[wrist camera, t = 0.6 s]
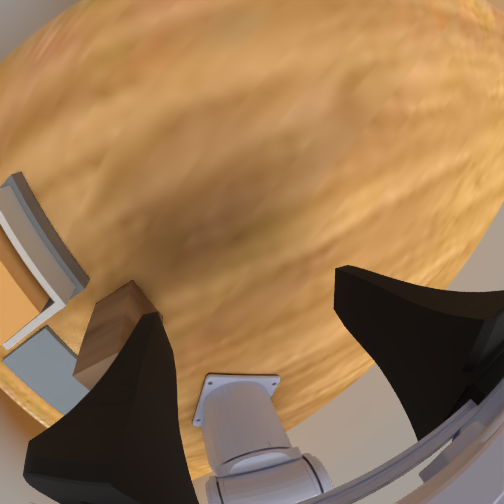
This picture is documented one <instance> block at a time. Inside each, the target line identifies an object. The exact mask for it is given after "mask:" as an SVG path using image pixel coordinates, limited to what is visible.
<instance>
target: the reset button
mask: <svg viewBox="0 0 504 504" xmlns="http://www.w3.org/2000/svg"><path fill="white" fill-rule="evenodd" d="M49 298H50V296H49V295H48V293H47V292H46V291H45V290H44V288H43V287H42V286H41V284H40V283H39V282H38V280H37V279H36V278H35V276H34V275H33V274H32V272H31V271H30V269H29V268H28V267H27V265H26V264H25V262H24V261H23V259H22V258H21V256H20V255H19V253H18V252H17V250H16V249H15V247H14V246H13V244H12V243H11V241H10V239H9V238H8V236H7V234H6V233H5V231H4V229H3V228H2V226H1V224H0V347H1V346H2V345H3V344H4V343H5V342H6V341H7V340H9V339H10V338H11V337H12V336H13V335H14V334H16V333H17V332H18V331H19V330H20V329H22V328H23V327H24V326H25V325H26V324H28V323H29V322H30V321H31V320H32V319H34V318H35V317H36V316H37V315H39V314H40V313H41V311H42V309H43V308H44V306H45V304H46V303H47V301H48V300H49Z"/></svg>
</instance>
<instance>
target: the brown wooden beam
mask: <svg viewBox="0 0 504 504" xmlns="http://www.w3.org/2000/svg"><path fill="white" fill-rule="evenodd" d="M152 312H157V309H156V308H155V307H154V306H153V305H152V303H151V302H150V301H149V300H148V299H147V297H146V296H145V295H144V294H143V292H142V291H141V290H140V289H139V287H138V286H137V285H136V283H135V282H134V281H133V280H132V281H130V282H129V283H127V284H126V285H124V286H122V287H121V288H119V289H118V290H116V291H115V292H113V293H111V294H110V295H108V296H107V297H105V298H104V299H102V300H101V301H99V302H98V303H96V305H95V308H94V310H93V313H92V316H91V318H90V321H89V324H88V327H87V330H86V333H85V336H84V339H83V342H82V345H81V348H80V351H79V355H78V358H77V361H76V365H75V368H74V372H73V375H72V376H73V377H74V378H75V379H76V380H77V381H78V382H80V383H81V384H82V385H83V386H84V387H86V388H87V389H88V390H89V391H90V390H91V389H92V388H93V387H94V386H95V385H96V383H97V382H98V381H99V380H100V379H101V377H102V376H103V375H104V374H105V372H106V371H107V370H108V368H109V367H110V365H111V364H112V363H113V361H114V360H115V358H116V357H117V355H118V354H119V352H120V351H121V349H122V348H123V346H124V344H125V343H126V341H127V340H128V338H129V336H130V335H131V333H132V331H133V330H134V328H135V326H136V324H137V323H138V321H139V320H140V318H141V316H142V315H143V314H147V313H152ZM158 313H159V312H158ZM159 316H160V319H161V322H162V324H163V316H162V315H161V314H160V313H159Z"/></svg>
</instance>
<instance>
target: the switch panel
mask: <svg viewBox="0 0 504 504" xmlns="http://www.w3.org/2000/svg"><path fill="white" fill-rule="evenodd" d="M0 224H1V226H2V228H3V229H4V231H5V233H6V234H7V236H8V238H9V239H10V241H11V243H12V244H13V246H14V247H15V249H16V250H17V252H18V253H19V255H20V256H21V258H22V259H23V261H24V262H25V264H26V265H27V267H28V268H29V269H30V271H31V272H32V274H33V275H34V276H35V278H36V279H37V280H38V282H39V283H40V284H41V286H42V287H43V288H44V290H45V291H46V292H47V293H48V295H49V296H50V298H49V300H48V301H47V303H46V304H45V306H44V308H43V309H42V311H41V313H40V314H39V315H37V316H36V317H35V318H34V319H32V320H31V321H30V322H29V323H28V324H26V325H25V326H24V327H23V328H22V329H20V330H19V331H18V332H17V333H16V334H14V335H13V336H12V337H11V338H10V339H9V340H7V341H6V342H5V343H4V344H3V346H4V347H5V348H6V349H7V350H9V349H10V348H11V347H12V346H14V345H15V344H16V343H17V342H19V341H20V340H21V339H22V338H24V337H25V336H26V335H27V334H29V333H30V332H31V331H33V330H34V329H35V328H37V327H38V326H39V325H40V324H42V323H43V322H44V321H46V320H47V319H48V318H50V317H51V316H52V315H54V314H55V313H56V312H58V311H59V310H61V309H62V308H63V307H65V306H66V305H67V303H68V301H69V300H70V299H71V298H73V297H74V296H75V295H77V294H78V293H80V292H81V291H82V290H84V289H85V287H86V285H87V283H88V282H89V280H90V279H89V278H88V276H87V275H86V274H85V272H84V271H83V270H82V269H81V267H80V266H79V264H78V263H77V262H76V260H75V259H74V258H73V256H72V255H71V253H70V252H69V251H68V249H67V248H66V246H65V245H64V243H63V242H62V240H61V239H60V237H59V236H58V234H57V233H56V231H55V230H54V228H53V227H52V225H51V224H50V222H49V220H48V219H47V217H46V216H45V214H44V212H43V211H42V209H41V207H40V206H39V204H38V202H37V200H36V199H35V197H34V195H33V193H32V191H31V190H30V188H29V186H28V184H27V182H26V180H25V178H24V176H23V174H22V173H21V172H19V173H15V174H12V175H11V176H10V177H9V178H8V179H7V180H6V181H5V182H4V183H3V185H2V186H1V187H0Z"/></svg>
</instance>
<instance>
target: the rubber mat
mask: <svg viewBox="0 0 504 504" xmlns="http://www.w3.org/2000/svg"><path fill="white" fill-rule="evenodd" d="M77 358H78V356H77V355H76V354H75V353H74V352H73V351H72V350H71V349H70V348H69V347H68V346H67V345H66V344H65V343H64V342H63V341H62V340H61V339H60V338H59V337H58V336H57V335H56V334H55V333H54V332H53V331H52V330H51V328H50V327H49V326H48V325H46V326H45V327H43V328H42V329H41V330H39V331H38V332H37V333H35V334H34V335H33V336H31V337H30V338H29V339H27V340H26V341H25V342H24V343H22V344H21V345H20V346H18V347H17V348H16V349H15V350H13V351H12V352H11V353H9V354H8V355H7V356H6V357H4V358H3V360H2V362H3V363H4V364H5V365H6V366H7V367H8V368H9V369H10V370H11V371H12V372H13V373H14V374H15V375H16V376H17V377H18V378H20V379H21V380H22V381H23V382H24V383H25V384H26V385H27V386H28V387H29V388H31V389H32V390H33V391H34V392H35V393H36V394H38V395H39V396H40V397H41V398H42V399H44V400H45V401H46V402H47V403H49V404H50V405H51V406H53V407H54V408H55V409H56V410H58V411H59V412H60V413H62V414H63V415H66V414H67V413H68V412H69V411H70V410H71V409H73V408H74V407H75V406H76V405H77V404H78V403H79V402H80V401H81V400H82V399H83V398H84V396H85V395H86V394H87V393H88V392H89V390H88V389H87V388H86V387H84V386H83V385H82V384H81V383H80V382H78V381H77V380H76V379H75V378H74V377H73V376H72V375H73V372H74V368H75V365H76V361H77Z"/></svg>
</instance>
